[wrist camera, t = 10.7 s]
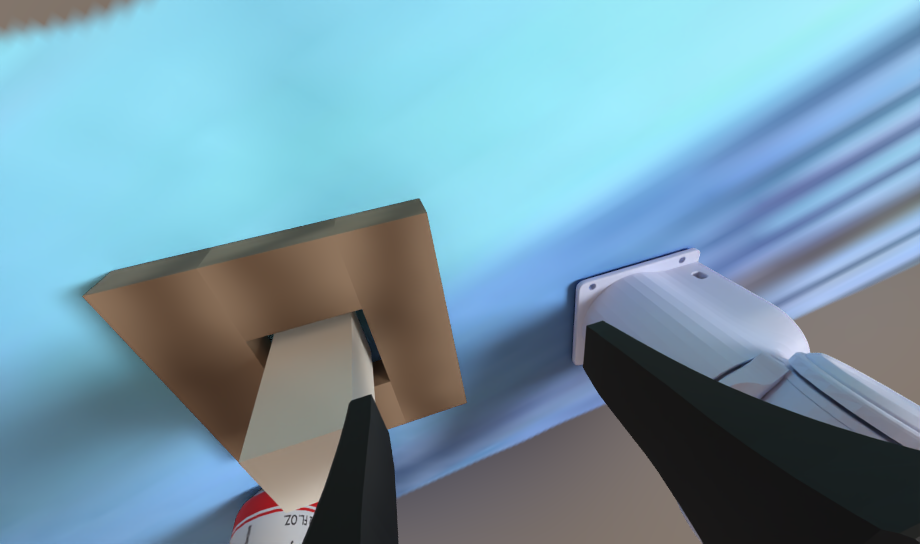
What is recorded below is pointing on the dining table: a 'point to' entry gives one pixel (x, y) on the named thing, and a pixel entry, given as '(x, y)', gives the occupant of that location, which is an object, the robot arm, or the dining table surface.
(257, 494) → the beer can
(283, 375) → the peg
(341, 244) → the slotted board
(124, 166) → the dining table surface
